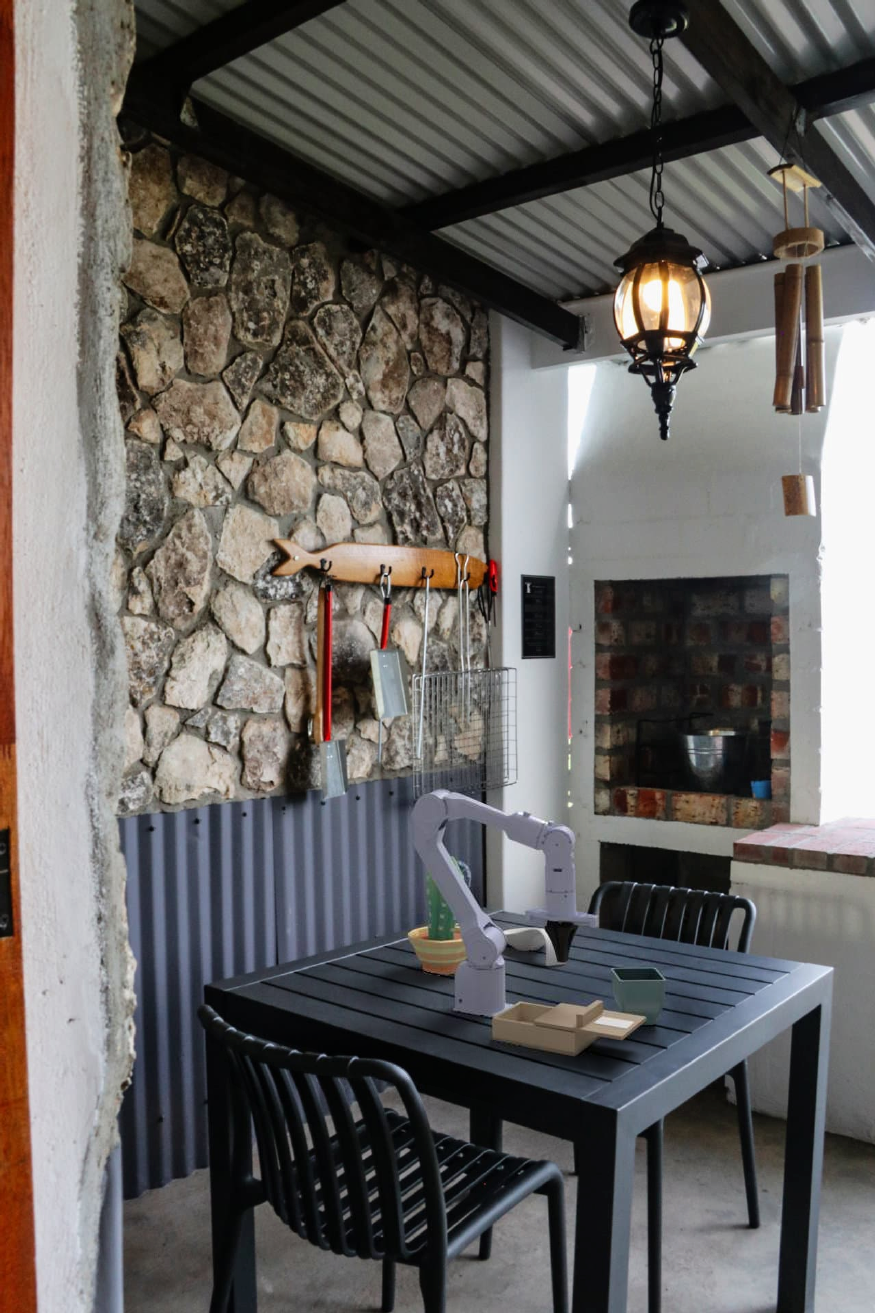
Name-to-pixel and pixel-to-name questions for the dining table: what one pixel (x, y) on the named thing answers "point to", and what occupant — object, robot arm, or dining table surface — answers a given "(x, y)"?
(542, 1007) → the box
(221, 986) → the dining table surface
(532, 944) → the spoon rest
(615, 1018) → the mailer lid
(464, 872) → the potted cactus
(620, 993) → the flower pot
